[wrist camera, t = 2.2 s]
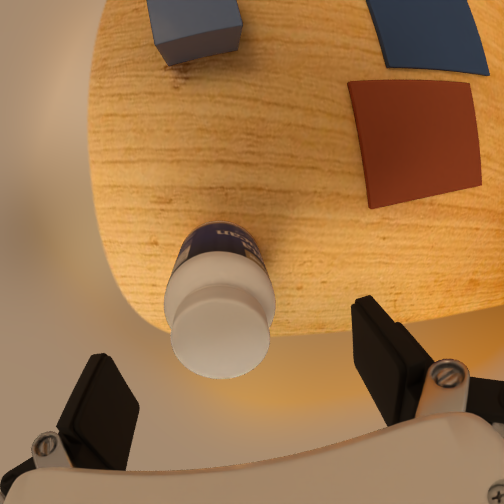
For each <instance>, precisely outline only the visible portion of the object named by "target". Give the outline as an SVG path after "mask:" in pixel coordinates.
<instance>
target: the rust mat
mask: <svg viewBox="0 0 504 504" xmlns="http://www.w3.org/2000/svg"><path fill="white" fill-rule="evenodd" d="M348 88H349V92H350V97H351V101H352V106H353V111H354V116H355V121H356V126H357V131H358V137H359V142H360V148H361V154H362V161H363V167H364V174H365V181H366V189H367V197H368V206H369V208H370V209H375V208H379V207H384V206H388V205H393V204H397V203H402V202H406V201H411V200H415V199H420V198H425V197H429V196H434V195H438V194H443V193H448V192H452V191H457V190H462V189H466V188H471V187H476V186H481V185H482V176H481V160H480V148H479V138H478V130H477V123H476V116H475V109H474V104H473V98H472V93H471V88H470V83H462V82H449V81H432V80H368V81H350V82H348Z"/></svg>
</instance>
